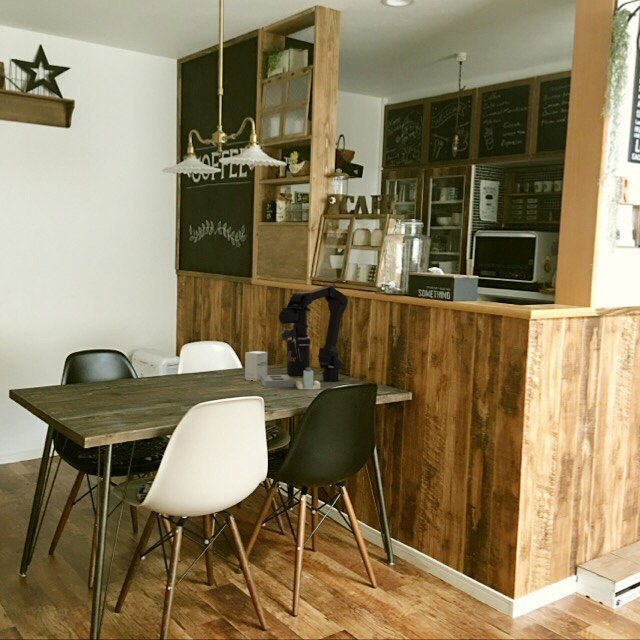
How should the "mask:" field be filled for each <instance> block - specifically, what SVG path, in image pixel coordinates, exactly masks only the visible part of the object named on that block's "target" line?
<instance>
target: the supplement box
mask: <svg viewBox="0 0 640 640" xmlns="http://www.w3.org/2000/svg"><path fill="white" fill-rule="evenodd" d="M244 354H245V356H244V358H245V360H244V364H245V365H244V380H245V379H246V381H251V380H253V382H258V381H259V380H260V381H261V375H268V352H267V351H259V350H255V351H247V352H244ZM260 381H259V382H260Z"/></svg>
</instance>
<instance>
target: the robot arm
mask: <svg viewBox="0 0 640 640" xmlns="http://www.w3.org/2000/svg"><path fill="white" fill-rule="evenodd" d="M323 298H324V300H325V301H326V302H327V308H328V311H329V320H328V325H327V330H326V337H325V343H324V345H323V346H322V347H319V349H318V350H319V351H318V355H317V358H318V359H317V360H318V363H319V367H320V369H323V370H322V372H321V373H322V375H321V381H322V382H329V383H331V382H332V383H333V382H335V383H336V382H339V370H341V369H342V368H343V363H342V361H341V360H340V359H339V351H338V349H337V343H338V338H339V332H340V331H339V330H340V325H341V318H342V315H343V314H344V312H346V310H347V306H348V302H349V300H348V298H347V296H346V295H345V294H344V293H342V292H341V291H339V290H338V289H337V288H335V287H334V286H332V285H323V286H322V287H319V288H318V287H317V288H315V289H312V290H309V291H304V292H303V291H300V292H293V293H292V294H291V297H290V299H289V301H288V303H287V304H286V307H285V306H283V307H282V310H281V311H280V312H279V315H278V320H279V322H280V324H282V325H289V324H292V325H291V328H287V329H284V330H283V331H281V332H279V335H280V336H281V340H282V341H287V340H288V338H291V340H293V341H291V342H292V343H293V344H294V345H295V347H296V352H297V357H298V358H300V361H303V360H304V357H305V355H306V352H307V350H308V348H309V346H311V339H309V338H308V337H309V336H308V328H309V325H308V312H311V311H312V310H311V308H309V307H308V306H309V305H311V304H312V303H313V302H314V301H317V300H319V299H323Z"/></svg>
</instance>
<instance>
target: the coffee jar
mask: <svg viewBox="0 0 640 640" xmlns="http://www.w3.org/2000/svg"><path fill="white" fill-rule="evenodd" d="M308 338H309V339H310V338H311V337H310V336H308ZM310 340H311V339H310ZM291 341H293V340H291V338H288V339H287V342H286V373H287V375H291V376H290V377H297V376H301V377H304V370H306V368H311V365H310V362H311V361H310V359H311V357H310V353H311V352H310V351H311V350H310V349H311V347H310V346H311V345H310V346H309V348H308V350H307V352H306V355H305V357H304V360H303V361H300V358H298V357H297V352H296V347H295V345H294V344H293V343H292V342H291Z"/></svg>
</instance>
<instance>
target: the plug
mask: <svg viewBox="0 0 640 640" xmlns="http://www.w3.org/2000/svg"><path fill="white" fill-rule="evenodd" d="M303 386H304V388H313V386H314V370H312V368H311V367H310V368H306V370H304V376H303Z"/></svg>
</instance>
